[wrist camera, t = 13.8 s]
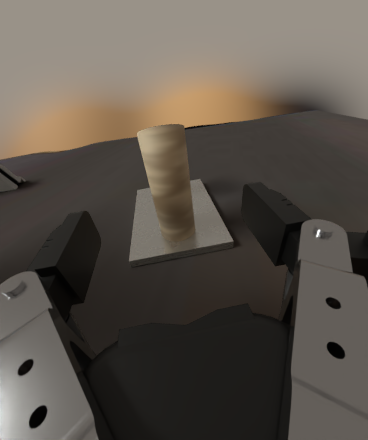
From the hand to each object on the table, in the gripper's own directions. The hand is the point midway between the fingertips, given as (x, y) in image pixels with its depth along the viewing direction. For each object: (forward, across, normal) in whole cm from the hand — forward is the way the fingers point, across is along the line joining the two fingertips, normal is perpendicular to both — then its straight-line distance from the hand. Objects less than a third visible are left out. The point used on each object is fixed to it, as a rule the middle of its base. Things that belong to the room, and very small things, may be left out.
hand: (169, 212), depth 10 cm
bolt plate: (+16, 0, +11) cm, 19 cm away
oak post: (+11, 0, +10) cm, 15 cm away
